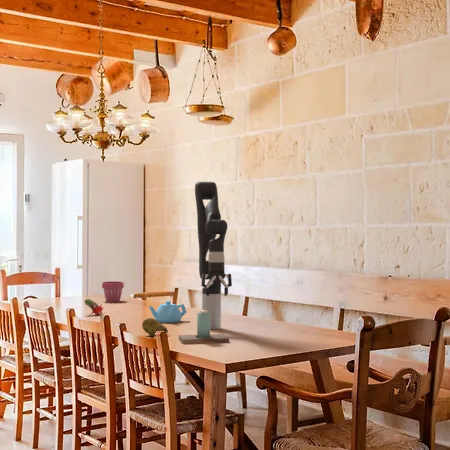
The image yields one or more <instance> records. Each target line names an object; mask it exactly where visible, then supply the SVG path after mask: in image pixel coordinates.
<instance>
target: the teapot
mask: <svg viewBox="0 0 450 450" xmlns="http://www.w3.org/2000/svg"><path fill="white" fill-rule="evenodd" d="M171 302H172V301H171V300H166V301H165V303H161V304H160V305H159V306H158V307H157V310H156V309H155V308H154V307H153V306H151V305H150V306H148V307H149V310H150V311H151V314H152V316H153V319H155V320H157V321H158V322H160V323H161V324H172V323H173V324H174V323H179V322H180V321H181V319H182V318H183V317H184V316H185V315H186V314H187V309H186V307H185V304H184V303H182V304H176V303H171ZM180 308H181V310H180Z"/></svg>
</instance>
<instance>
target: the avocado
mask: <svg viewBox="0 0 450 450" xmlns="http://www.w3.org/2000/svg"><path fill="white" fill-rule="evenodd" d="M142 329H143V331H144V332H145V333H147V334H148V335H149V337H153V338H154V336H155V333H156V331H165V332H167V334H168V333H169V332H168V331H169V329H168V328H167V327H166V326H165V325H164V324H163V323H160V322H158V321H157V320H156V319H155V318H154V317H153V318H152V317H148V318H146V319H144V320H143V322H142ZM155 337H156V336H155Z"/></svg>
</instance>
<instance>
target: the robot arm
mask: <svg viewBox="0 0 450 450" xmlns="http://www.w3.org/2000/svg"><path fill="white" fill-rule="evenodd" d="M194 196H195V197H194V198H195V205H196V215H197V217H196V220H197V221H196V222H197V238H198V239H197V240H198V250H199V251H198V252H199V253H198V254H199V255H198V259H199V260H198V271H199V272H198V273H199V277H200V280H201V284H200V286H201V287H202V290H201V291H202V292H201V293H202V294H201V300H202V301H201V302H202V303H201V308H202V309H201V310H207V313H210V330H221V329H222V327H221V326H222V285H223V286H224V287H223V288H224V293H223V294H224V296H225V297H226V296H228V294H229V288H230V287H232V286H233V283H232V274H231V273H225V261H226V260H225V247H224V246H225V238H226V234H227V231H228V223H227V221H226V220H225V219H221V218H222V215H221V210H220V206H219V195H218V187H217V184H216V182H214V181H197V182H195V185H194ZM204 200H206V201H207V200H208V201H209V202H208V203H207V204H206V205H205V203H204ZM217 235H219V236H218V237H217ZM216 237H217V238H216ZM208 252H209V253H208ZM207 254H208V260H207ZM225 278H226V279H227V283H226V281H225ZM206 280H207V281H208V282H207V283H206Z"/></svg>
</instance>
